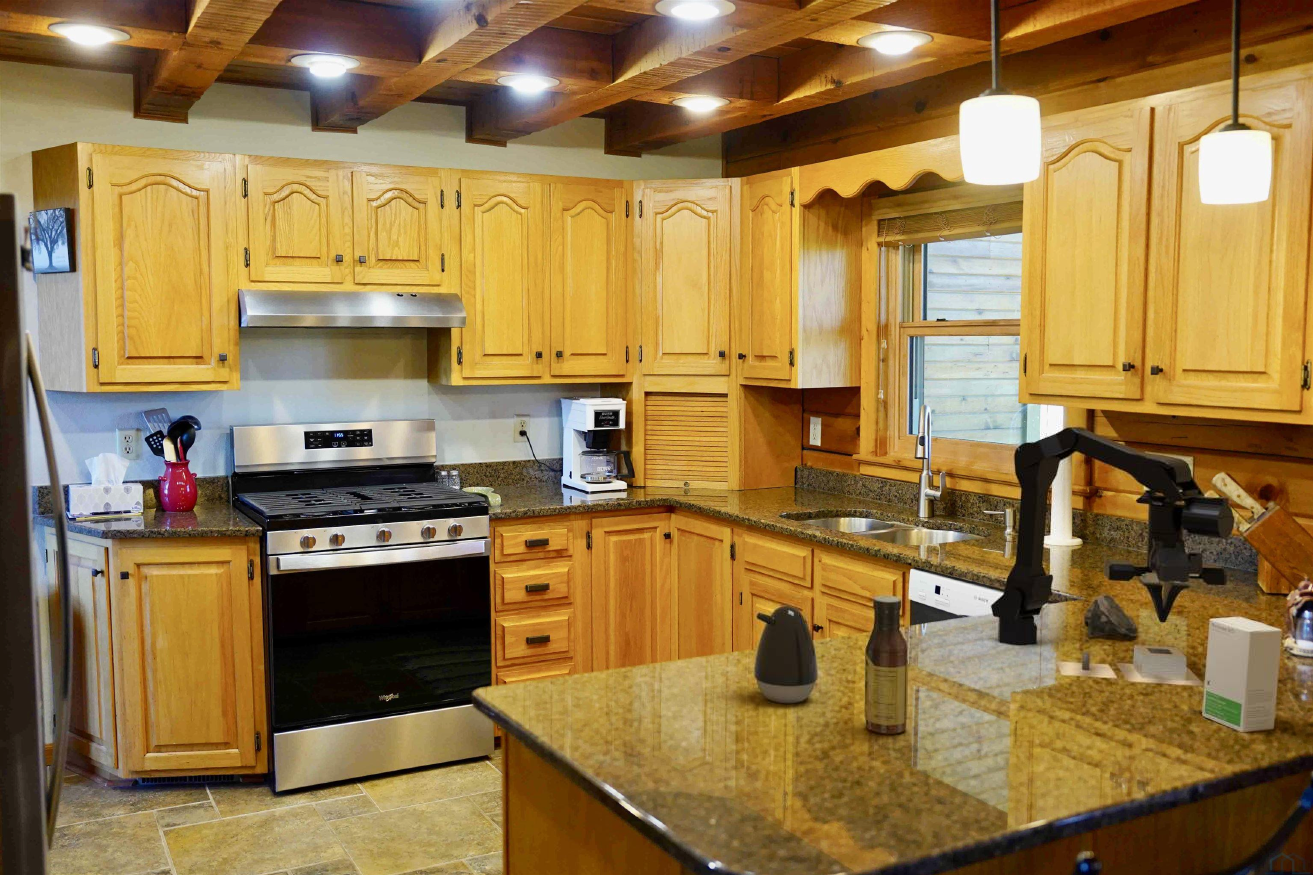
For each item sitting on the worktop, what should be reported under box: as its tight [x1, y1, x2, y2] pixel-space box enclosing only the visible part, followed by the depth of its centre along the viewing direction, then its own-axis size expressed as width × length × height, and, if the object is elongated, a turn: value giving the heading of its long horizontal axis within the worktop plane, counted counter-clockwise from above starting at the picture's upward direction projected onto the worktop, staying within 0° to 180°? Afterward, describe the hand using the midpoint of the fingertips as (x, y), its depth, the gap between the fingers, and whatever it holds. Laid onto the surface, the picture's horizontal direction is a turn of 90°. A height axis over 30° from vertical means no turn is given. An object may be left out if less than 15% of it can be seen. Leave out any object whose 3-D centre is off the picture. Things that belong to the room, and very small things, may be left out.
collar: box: [1132, 644, 1188, 681], centre depth 200 cm, size 7×7×4 cm
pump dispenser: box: [753, 605, 819, 704], centre depth 187 cm, size 10×10×15 cm
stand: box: [1054, 652, 1118, 679], centre depth 203 cm, size 9×9×4 cm
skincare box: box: [1201, 616, 1283, 733], centre depth 177 cm, size 8×7×16 cm
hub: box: [1115, 662, 1205, 687], centre depth 200 cm, size 12×12×4 cm
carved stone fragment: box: [1083, 593, 1139, 641], centre depth 233 cm, size 11×9×10 cm
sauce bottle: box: [864, 595, 909, 736], centre depth 172 cm, size 6×6×20 cm
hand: (1162, 621), depth 200 cm, fingers closed
